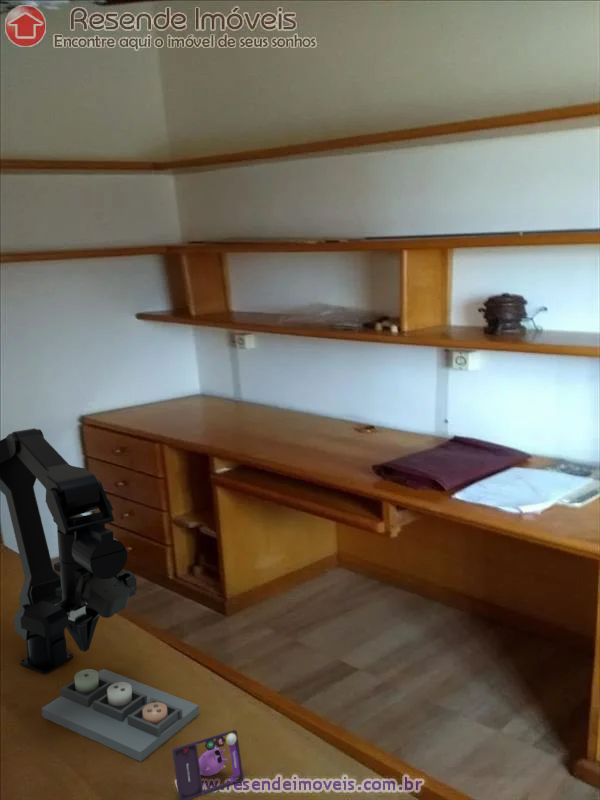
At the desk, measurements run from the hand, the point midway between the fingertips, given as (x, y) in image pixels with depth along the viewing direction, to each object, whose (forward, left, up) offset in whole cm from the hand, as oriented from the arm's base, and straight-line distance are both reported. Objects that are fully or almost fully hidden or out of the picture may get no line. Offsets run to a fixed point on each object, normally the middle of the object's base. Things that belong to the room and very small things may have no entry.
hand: (84, 650), depth 123 cm
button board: (+7, 0, -9) cm, 11 cm away
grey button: (+7, 0, -6) cm, 9 cm away
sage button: (0, 0, -6) cm, 6 cm away
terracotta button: (+14, 0, -7) cm, 16 cm away
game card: (+27, -5, -9) cm, 29 cm away
